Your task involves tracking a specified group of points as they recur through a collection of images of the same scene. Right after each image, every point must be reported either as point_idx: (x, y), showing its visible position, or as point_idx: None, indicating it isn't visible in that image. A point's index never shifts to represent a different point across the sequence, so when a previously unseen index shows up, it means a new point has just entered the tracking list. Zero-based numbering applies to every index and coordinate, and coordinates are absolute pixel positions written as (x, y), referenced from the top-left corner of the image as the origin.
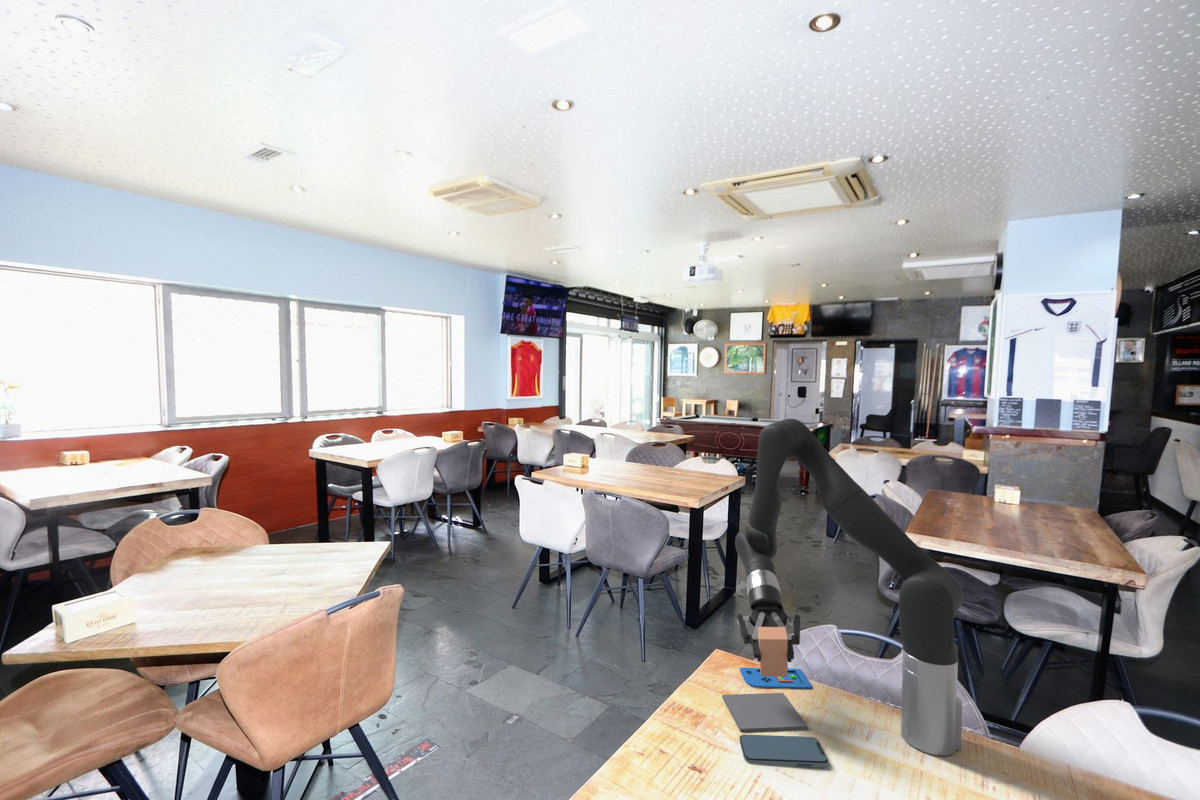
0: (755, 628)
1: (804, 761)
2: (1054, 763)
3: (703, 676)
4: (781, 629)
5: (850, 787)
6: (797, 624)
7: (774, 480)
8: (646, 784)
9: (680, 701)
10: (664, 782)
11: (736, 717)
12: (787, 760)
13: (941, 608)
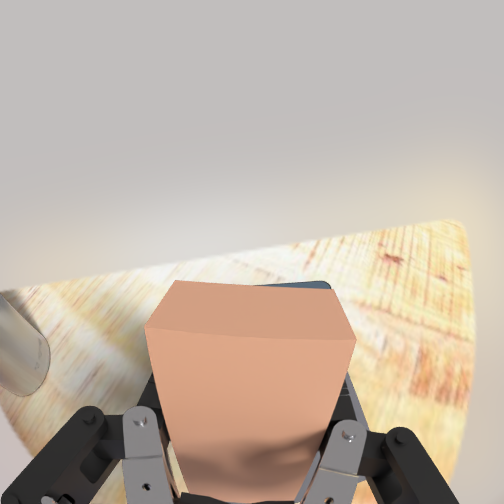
0: (351, 473)
1: None
2: None
3: None
4: (178, 318)
5: (179, 266)
6: (44, 465)
7: None
8: (431, 228)
9: (461, 416)
10: (417, 233)
11: (350, 392)
12: (259, 285)
13: None
